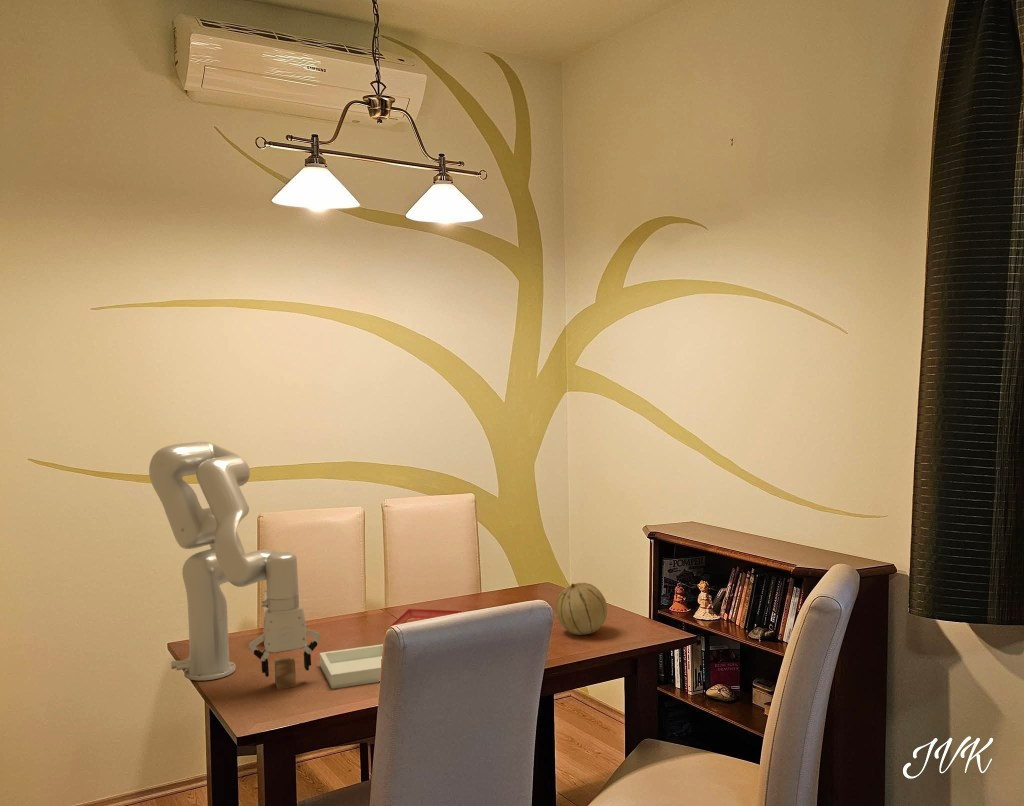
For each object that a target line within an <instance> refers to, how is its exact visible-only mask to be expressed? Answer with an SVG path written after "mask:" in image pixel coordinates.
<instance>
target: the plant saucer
mask: <svg viewBox="0 0 1024 806" xmlns="http://www.w3.org/2000/svg"><path fill="white" fill-rule="evenodd" d="M458 612H463V613H464V610H450V609H449V610H448V609H431V608H430V609H428V608H427V609H426V608H408V609H406V610H405V611H404V612H403V613H402V614H401V615H400V616H398V618H396V619H395V620H394V621H393V622H392V623H391V624H390V625H388V627H389V628H390V627H391V626H392V625H395V624H398V623H403V622H407V620H408V619H410V618H416V619H414V620H420V619H425V618H431V617H436V616H442V615H447V614H453V613H458ZM417 618H420V619H417ZM414 620H409V621H414Z"/></svg>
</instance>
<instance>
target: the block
mask: <svg viewBox="0 0 1024 806" xmlns="http://www.w3.org/2000/svg"><path fill="white" fill-rule="evenodd" d="M273 663H274V681H275V682H274V684H275V687H276V689H277V690H281V689H286V688H294V687H297V680H296V679H297V678H296V677H297V674H296V673H297V672H296V661H295V659H294V656H289V657H283V658H282V657H281V658H275V659H274V662H273Z"/></svg>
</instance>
